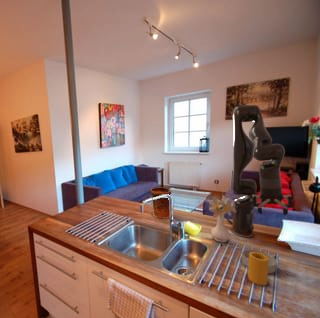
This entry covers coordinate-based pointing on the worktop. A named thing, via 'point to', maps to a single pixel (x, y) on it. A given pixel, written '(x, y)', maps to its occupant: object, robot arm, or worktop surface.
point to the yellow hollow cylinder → (258, 268)
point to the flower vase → (221, 217)
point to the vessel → (161, 203)
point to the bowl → (272, 260)
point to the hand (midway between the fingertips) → (272, 213)
